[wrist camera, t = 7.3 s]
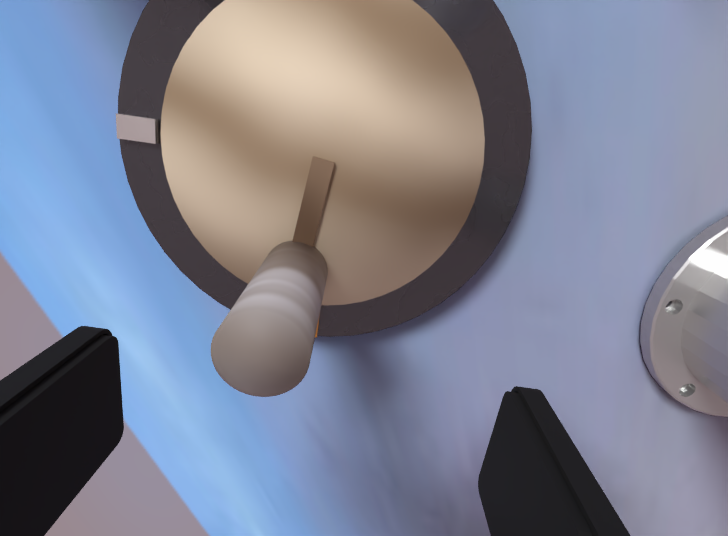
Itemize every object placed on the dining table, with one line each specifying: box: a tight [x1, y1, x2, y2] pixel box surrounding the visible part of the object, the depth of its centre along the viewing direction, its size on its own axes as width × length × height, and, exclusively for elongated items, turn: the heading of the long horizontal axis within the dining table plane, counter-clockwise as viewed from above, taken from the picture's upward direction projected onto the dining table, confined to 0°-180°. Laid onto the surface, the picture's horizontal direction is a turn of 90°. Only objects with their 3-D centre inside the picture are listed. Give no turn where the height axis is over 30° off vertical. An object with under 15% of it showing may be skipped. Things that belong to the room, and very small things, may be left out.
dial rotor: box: [161, 0, 485, 397], centre depth 14 cm, size 13×13×8 cm
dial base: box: [116, 0, 532, 337], centre depth 19 cm, size 18×18×2 cm
